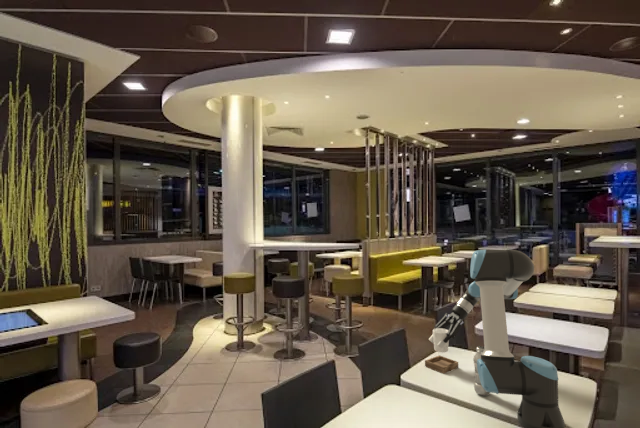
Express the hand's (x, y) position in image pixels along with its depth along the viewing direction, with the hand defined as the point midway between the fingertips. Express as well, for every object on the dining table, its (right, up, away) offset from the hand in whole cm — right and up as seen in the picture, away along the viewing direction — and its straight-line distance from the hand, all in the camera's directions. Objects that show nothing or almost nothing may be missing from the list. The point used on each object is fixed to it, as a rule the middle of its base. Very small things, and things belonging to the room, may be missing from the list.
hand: (434, 343), depth 193 cm
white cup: (+3, -4, +1) cm, 5 cm away
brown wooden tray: (+4, -12, +1) cm, 13 cm away
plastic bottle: (+12, -12, -29) cm, 33 cm away
